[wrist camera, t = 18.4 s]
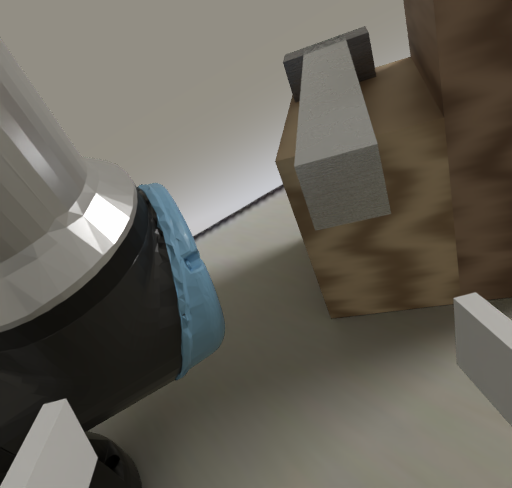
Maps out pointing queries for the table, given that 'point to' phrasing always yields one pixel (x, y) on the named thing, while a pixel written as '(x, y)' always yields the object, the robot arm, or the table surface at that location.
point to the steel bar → (336, 131)
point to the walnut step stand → (427, 170)
